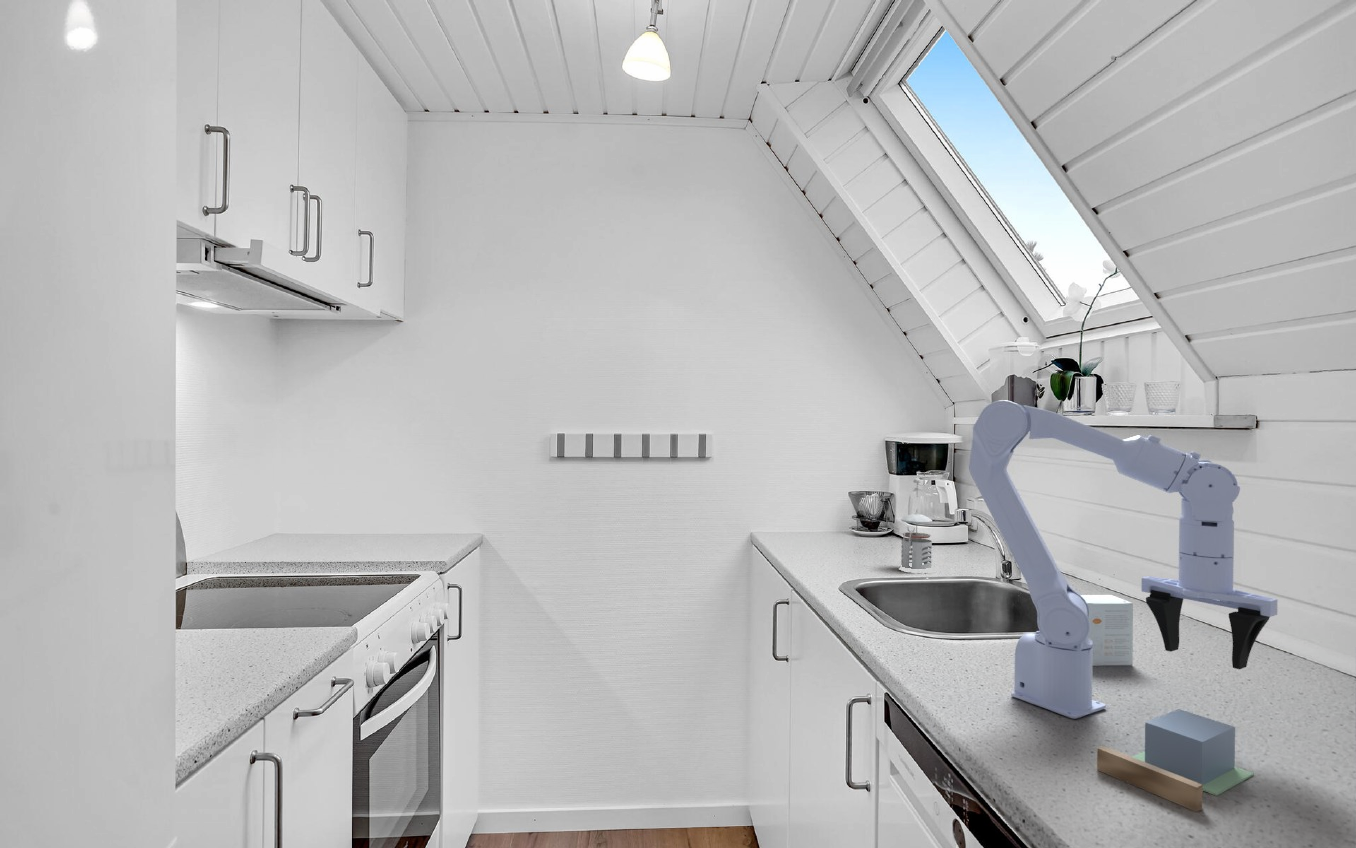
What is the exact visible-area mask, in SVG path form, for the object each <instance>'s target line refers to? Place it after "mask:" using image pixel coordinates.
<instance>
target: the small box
mask: <svg viewBox="0 0 1356 848" xmlns="http://www.w3.org/2000/svg"><path fill="white" fill-rule="evenodd" d="M1080 595H1081V596H1082V597H1083V598H1084V600H1085V601H1086V603H1087V605H1088V608H1089V617H1088V620H1089V624H1090V631H1089V634H1088V636H1087V637H1088V638H1089V639H1090V640H1092V642H1093V666H1094V667H1095V666H1099V667H1100V666H1102V667H1103V666H1108V667H1109V666H1111V667H1112V666H1133V664H1134V661H1133V658H1134V656H1133V655H1134V654H1133V653H1134V651H1133V650H1134V649H1133V648H1134V646H1133V645H1134V644H1133V643H1134V642H1133V640H1134V635H1133V634H1134V630H1133V629H1134V604H1133V602H1131V601H1128V600H1126V599H1123V598H1120V597H1118V596H1115V595H1114V594H1113V595H1112V594H1080Z"/></svg>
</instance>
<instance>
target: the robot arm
mask: <svg viewBox="0 0 1356 848" xmlns="http://www.w3.org/2000/svg"><path fill="white" fill-rule="evenodd" d="M1028 434H1029V438H1028V439H1030V440H1034V439H1036V440H1037V439H1038V440H1039V439H1055V440H1058V441H1060V442H1064V443H1066V444H1068V445H1071V446H1074V447H1077V448H1079V449H1081V450H1082V449H1083V450H1085V451H1088V452H1089V453H1090V452H1091V453H1092V454H1096V455H1098V456H1101V457H1104V458H1106V459H1108V460H1112V461H1113V463H1114V465H1115V468H1116V470H1117V471H1118V473H1119V474H1120V475H1123V476H1125V477H1129V478H1130V479H1133V480H1135V481H1138V482H1140V483H1142V484H1146V485H1148V486H1151V487H1153V488H1155V489H1158V490H1161V491H1163V492H1166V493H1169V494H1172V493H1178V494H1179V495H1180V496H1181V497H1182V498H1181V502H1180V504H1181V507H1180V508H1181V513H1180V516H1179V519H1178V520H1179V521H1178V522H1179V523H1178V580H1177V579H1171V578H1170V579H1169V578H1163V577H1155V576H1149V575H1148V576H1144V577H1141V592H1143V593H1147V594H1149V596H1146V597H1145V601H1146V602H1145V603H1146V605H1147V606H1148V608H1149V610H1150V611H1151V612H1152V614H1153V616H1154V619H1155V621H1156V623H1157V626H1158V627H1159V630H1160V633H1161V637H1162V641H1163V645H1164V650H1165V651H1167V652H1169V653H1170V652H1175V651H1178V650H1179V647H1180V620H1181V613H1182V606H1183V603H1184V600H1187V601H1194V602H1199V603H1202V604H1203V603H1205V604H1210V605H1215V606H1220V607H1225V608H1230V609H1236V610H1237V611H1232V612H1229V613H1228V619H1229V624H1230V630H1231V637H1232V649H1231V651H1232V653H1231V662H1232V663H1231V664H1232V668H1233V669H1235V670H1236V669H1237V670H1242V669H1245V668H1247V666H1248V661H1249V657H1250V654H1251V652H1252V648H1253V646H1254V644H1255V642H1256V640H1257V637H1258V636H1259V635H1260V633H1261V632H1262V629H1263V628H1264V627H1265V626H1266V624H1267V623H1268V621H1270V618H1271V617H1274V616H1277V615H1278V599H1277V598H1273V597H1267V596H1262V595H1259V594H1253V593H1251V592H1245V591H1242V590H1238V589H1234V561H1235V560H1234V556H1235V554H1234V553H1235V551H1234V550H1235V547H1234V545H1235V544H1234V543H1235V521H1234V520H1233V515H1234V507H1233V502H1235V501H1236V500H1237V499H1238V496H1239V494H1240V491H1241V487H1240V486H1239V485H1238V480H1237V478H1236V476H1235V474H1234V473H1232V471H1231V470H1230V469H1228V468H1226V467H1225V466H1223V465H1221V464H1217V463H1214V462H1212V460H1209V459H1200V458H1201V453H1198V452H1196V451H1190V453H1188V452H1185V451H1182V450H1180V449H1177V448H1174V447H1171V446H1169V445H1166V444H1164V443H1161V442H1160V441H1161V438H1160V437H1157V436H1155V435H1152V434H1150V435H1148V436H1147V437H1146V436H1145V437H1144V436H1142V435H1139V434H1138V435H1135V436H1132V437H1128V438H1125V439H1121V438H1119V437H1117V436H1114V435H1113V434H1109V433H1107V432H1104V431H1101V430H1100V429H1097V428H1094V427H1093V426H1090V425H1087V424H1084V423H1082V422H1079V421H1077V420H1075V419H1072V418H1070V417H1067V416H1065V415H1062V414H1060V413H1058V412H1055V411H1051V410H1047V409H1043V408H1039V407H1035V406H1029V405H1021V404H1019V403H1016V402H1013V401H1011V400H1006V399H1005V400H1003V399H1001V400H996V401H993V402H991V403H989V404H987V405H986V406H985V407H984V408H983V409H982V410H981V412H980V413H979V416H978V418H977V420H976V422H975V423H974V425H973V427H972V440H971V441H972V442H971V449H970V450H971V451H970V456H969V464H968V470H969V474H970V476H971V478H972V480H973V482H974V483H975V485H976V487H977V489H978V491H979V494H980V495H981V497H982V499H983V501H984V503H985V505H986V507H987V510H989V513H990V515H991V517H992V519H993V521H994V522H995V524H996V526H997V529H998V530H999V533H1000V534H1001V536H1002V538H1003V540H1004V541H1005V544H1006V546H1007V547H1008V549H1009V551H1010V553H1011V555H1012V557H1013V559H1014V561H1015V563H1016V565H1017V567H1018V569H1019V571H1020V573H1021V575H1022V577H1023V579H1024V580H1025V583H1026V585H1027V588H1028V591H1029V595H1030V598H1031V601H1032V603H1033V604H1034V606H1035V609H1036V615H1037V619H1036V621H1037V623H1036V624H1037V627H1038V630H1036V631H1035V633H1034V632H1026V633H1024V634H1022V636H1020V638H1018V641H1017V643H1016V646H1015V650H1014V684H1013V685H1014V690H1013V691H1012V692H1010V696H1011V697H1013V698H1016V699H1019V700H1022V701H1024V702H1027V703H1029V704H1032V705H1035V706H1038V707H1039V708H1042V709H1046V710H1048V711H1051V712H1054V713H1057V714H1059V715H1062V716H1065V717H1067V718H1070V719H1074V720H1076V719H1079V718H1082V717H1084V716H1086V715H1091V714H1093V713H1096V712H1099V711H1102V710H1104V709H1106V708H1107V705H1106V703H1103V702H1100V701H1097V700H1094V699H1093V642H1092V640H1090V639H1089V638H1088V637H1087V636H1088V634H1089V631H1090V624H1089V620H1088V617H1089V608H1088V605H1087V603H1086V601H1085V600H1084V598H1083V597H1082V596H1081V595H1082V594H1079V593H1078V592H1076V591H1075V589H1073V588H1072V587H1071V585H1070V583H1069V582H1068V580H1067V578H1066V576H1064V574H1063V573H1062V571H1061V570H1060V568H1059V566H1058V565H1057V563H1056V562H1055V560H1054V557H1053V556H1052V554H1051V552H1050V550H1049V548H1048V546H1047V544H1046V542H1045V540H1044V539H1043V537H1042V535H1041V532H1040V531H1039V529H1038V527H1037V526H1036V523H1035V522H1034V520H1033V518H1032V516H1031V514H1030V512H1029V510H1028V508H1027V507H1026V505H1025V503H1024V500H1023V499H1022V497H1021V495H1020V494H1019V492H1018V489H1017V488H1016V486H1015V484H1014V482H1013V480H1012V479H1011V476H1010V475H1009V473H1008V471H1007V468H1008V466H1009V463H1010V461H1011V458H1012V457H1013V455H1014V450H1015V449H1016V448H1017V447H1018V446H1019V444H1020V443H1022V441H1023V440H1024V439H1025V438H1026V436H1027V435H1028Z"/></svg>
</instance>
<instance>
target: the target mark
mask: <svg viewBox="0 0 1356 848" xmlns="http://www.w3.org/2000/svg"><path fill="white" fill-rule="evenodd" d="M1132 757H1133V758H1136V759H1138V760H1141V761H1143V762H1145V750H1144V751H1142V752H1139V753H1137V754H1135V755H1133V756H1132ZM1254 775H1255V773H1253V772H1251V771H1249V770H1246V769H1243V768H1240V767H1237V766H1235V769H1233V770H1231V771H1229V772H1227V773H1225V774H1223V775H1221V776H1219V777H1217V778H1215V779H1214V780H1212V781H1210V782H1208V783H1206V784H1204V785H1203V791H1204V792H1206V793H1209V794H1211V795H1214V796H1219V795H1220V794H1222V793H1223V792H1226V791H1228V790H1229V789H1231V788H1233V787H1234V786H1236V785H1238V784H1240V783H1242V782H1244V781H1245V780H1247V779H1249V778H1251V777H1253V776H1254ZM1203 791H1202V792H1203Z"/></svg>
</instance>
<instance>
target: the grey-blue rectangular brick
mask: <svg viewBox="0 0 1356 848" xmlns="http://www.w3.org/2000/svg"><path fill="white" fill-rule="evenodd" d="M1144 724H1145V726H1144V751H1145V762H1146V763H1148V764H1151V765H1154V766H1156V767H1159V768H1161V769H1164V770H1166V771H1169V772H1171V773H1174V774H1177V775H1179V776H1182V777H1184V778H1187V779H1189V780H1192V781H1194V782H1197V783H1200V784H1202V785H1204V784H1206V783H1208V782H1210V781H1212V780H1214V779H1215V778H1217V777H1219V776H1221V775H1223V774H1225V773H1227V772H1229V771H1231V770H1233V769H1235V767H1236V766H1235V765H1236V763H1235V758H1236V757H1235V754H1236V751H1235V750H1236V727H1235V726H1234V725H1230V724H1227V723H1224V722H1221V721H1217V720H1214V719H1211V718H1209V717H1205V716H1201V715H1199V714H1196V713H1193V712H1189V711H1185V710H1183V709H1180V708H1178V709H1175V710H1173V711H1169V712H1167V713H1165V714H1162V715H1160V716H1157V717H1155V718H1151V719H1150V720H1147V721H1145V723H1144Z"/></svg>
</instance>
